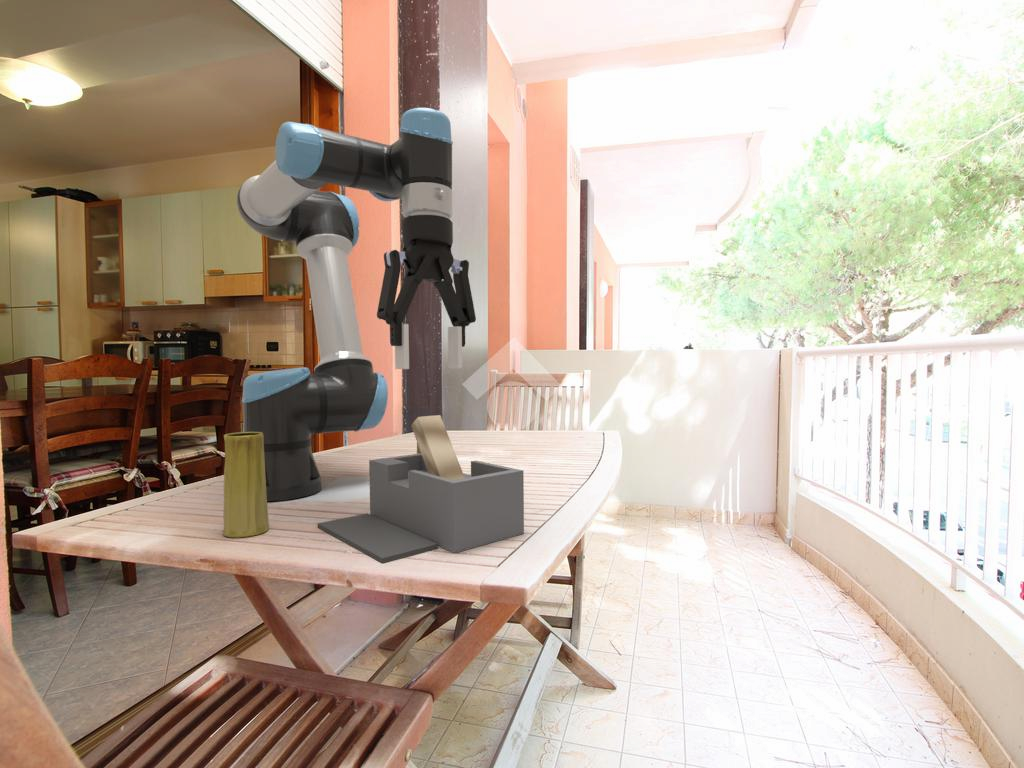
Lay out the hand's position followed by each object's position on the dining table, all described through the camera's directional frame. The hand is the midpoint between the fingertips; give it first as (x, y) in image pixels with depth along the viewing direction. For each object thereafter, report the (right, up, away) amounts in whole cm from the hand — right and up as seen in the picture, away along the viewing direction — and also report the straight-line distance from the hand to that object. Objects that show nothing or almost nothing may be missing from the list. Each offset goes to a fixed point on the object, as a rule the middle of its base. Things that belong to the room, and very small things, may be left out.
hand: (429, 368), depth 85 cm
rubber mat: (-7, -24, -7) cm, 26 cm away
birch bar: (+2, -16, -2) cm, 16 cm away
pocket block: (+2, -24, -2) cm, 24 cm away
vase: (-26, -24, -4) cm, 36 cm away
